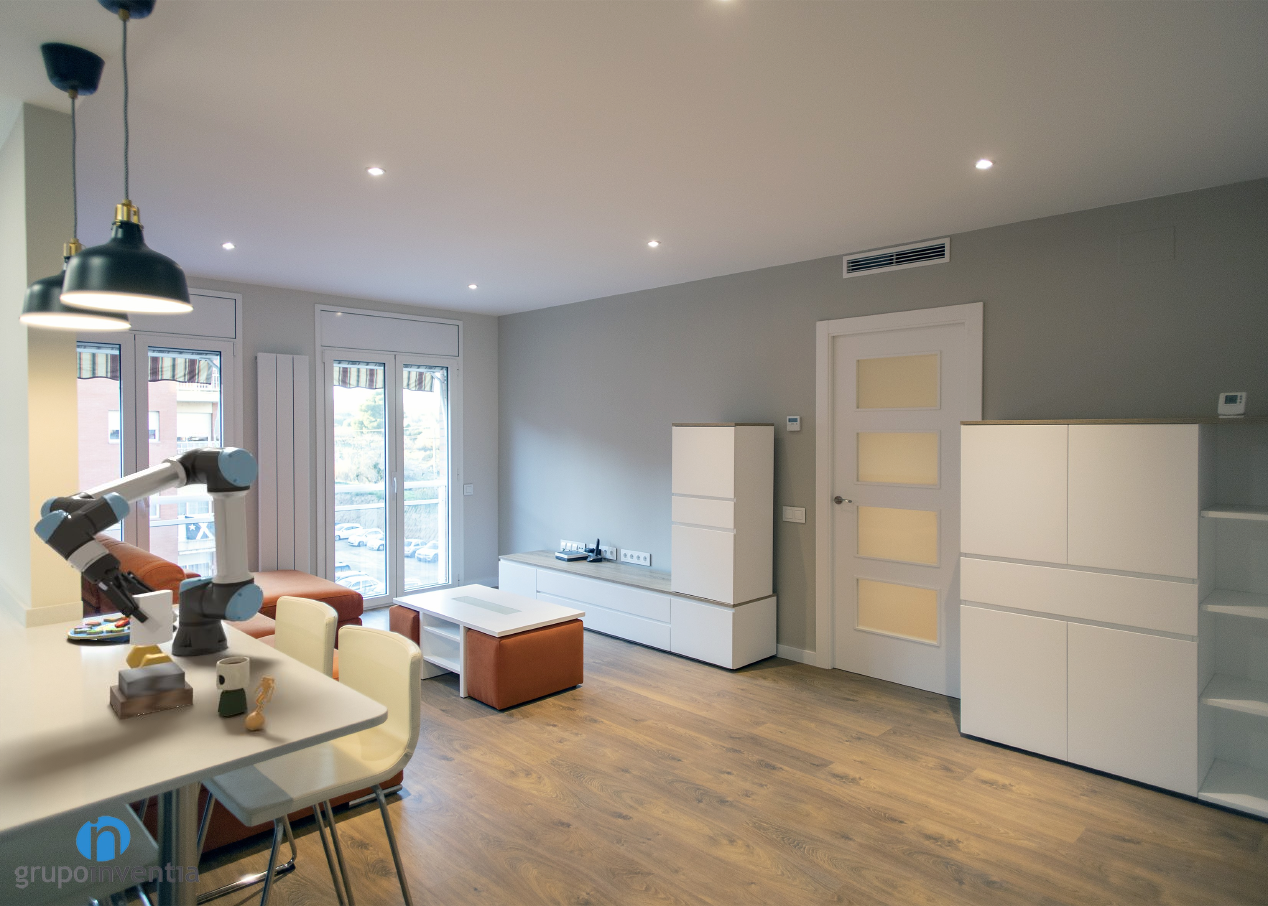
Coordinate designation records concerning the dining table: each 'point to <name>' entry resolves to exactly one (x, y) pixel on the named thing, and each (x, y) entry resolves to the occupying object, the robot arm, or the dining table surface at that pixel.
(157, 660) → the dumbbell
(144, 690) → the grey and brown block
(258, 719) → the figurine
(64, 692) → the dining table surface
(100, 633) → the shape sorting clock
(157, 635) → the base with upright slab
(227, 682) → the character mug
